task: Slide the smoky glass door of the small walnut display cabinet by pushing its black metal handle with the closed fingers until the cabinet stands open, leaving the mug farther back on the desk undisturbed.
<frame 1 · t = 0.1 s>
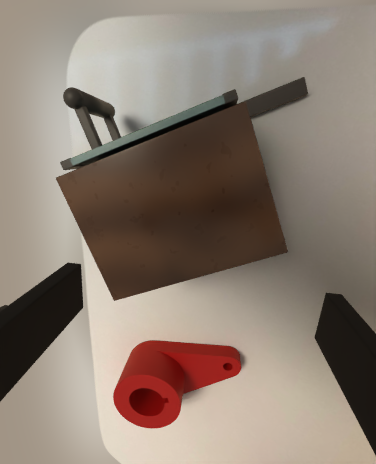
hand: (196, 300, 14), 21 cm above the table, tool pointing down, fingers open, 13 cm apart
lever: (183, 360, 42), on the table
glass door: (148, 109, 25), point 7 cm above the table, slide at 0.0 cm
cabinet: (189, 191, 34), on the table
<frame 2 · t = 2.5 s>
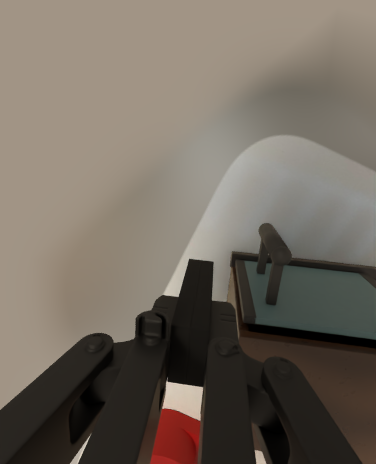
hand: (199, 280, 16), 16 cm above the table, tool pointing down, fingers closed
lever: (194, 436, 43), on the table
glass door: (322, 268, 25), point 7 cm above the table, slide at 0.0 cm
cabinet: (287, 311, 34), on the table
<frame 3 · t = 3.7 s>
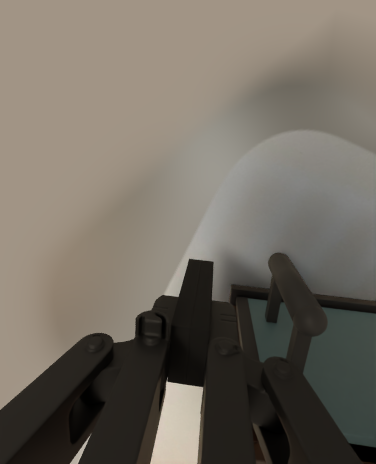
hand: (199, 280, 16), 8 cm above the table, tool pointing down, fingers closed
glass door: (364, 324, 17), point 7 cm above the table, slide at 0.0 cm
cabinet: (303, 361, 26), on the table
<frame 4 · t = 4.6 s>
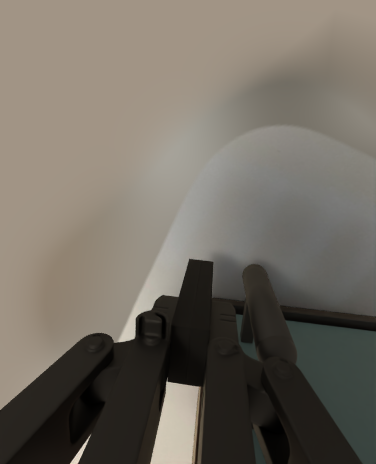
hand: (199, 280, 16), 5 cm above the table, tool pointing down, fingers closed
glass door: (348, 349, 15), point 7 cm above the table, slide at 0.1 cm, touching gripper
cabinet: (286, 380, 24), on the table
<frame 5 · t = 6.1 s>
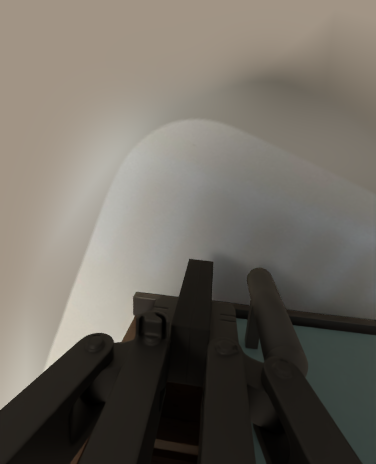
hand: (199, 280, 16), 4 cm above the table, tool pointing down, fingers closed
glass door: (357, 356, 14), point 7 cm above the table, slide at 6.2 cm, touching gripper
cabinet: (221, 375, 24), on the table
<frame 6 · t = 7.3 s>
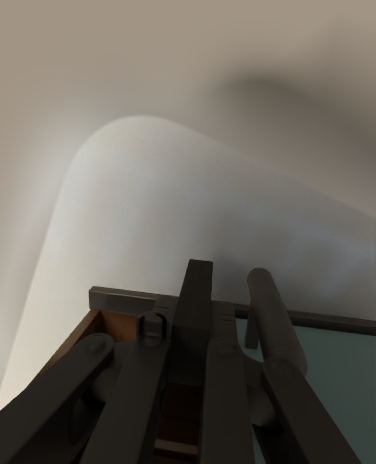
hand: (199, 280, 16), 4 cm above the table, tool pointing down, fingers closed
glass door: (357, 357, 14), point 7 cm above the table, slide at 10.0 cm, touching gripper
cabinet: (179, 369, 24), on the table
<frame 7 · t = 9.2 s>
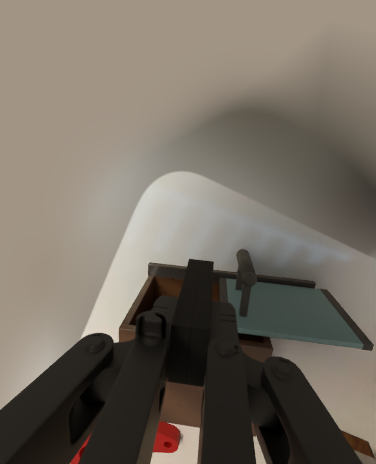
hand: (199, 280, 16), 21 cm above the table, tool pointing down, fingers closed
lever: (132, 422, 49), on the table
glass door: (285, 287, 31), point 7 cm above the table, slide at 10.0 cm
cabinet: (198, 312, 41), on the table
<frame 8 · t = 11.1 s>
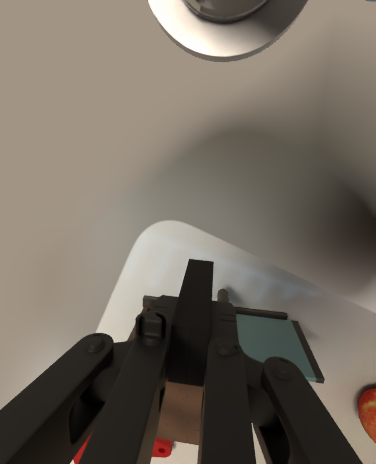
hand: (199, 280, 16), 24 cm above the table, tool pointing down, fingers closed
lever: (131, 430, 55), on the table
glass door: (257, 324, 37), point 7 cm above the table, slide at 10.0 cm
apple: (373, 396, 46), on the table
cabinet: (187, 338, 47), on the table
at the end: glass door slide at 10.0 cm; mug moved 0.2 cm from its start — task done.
